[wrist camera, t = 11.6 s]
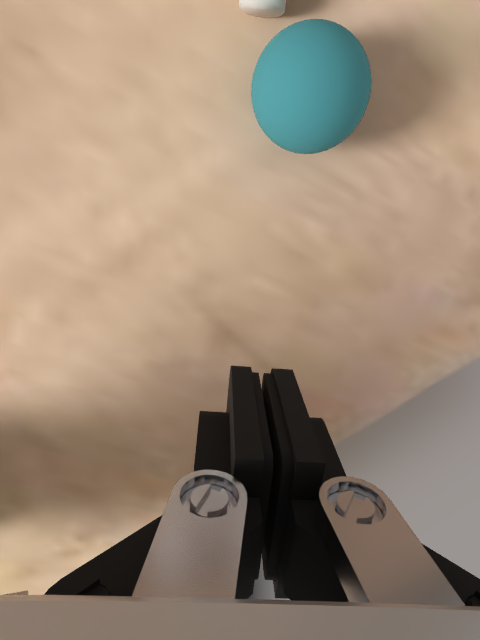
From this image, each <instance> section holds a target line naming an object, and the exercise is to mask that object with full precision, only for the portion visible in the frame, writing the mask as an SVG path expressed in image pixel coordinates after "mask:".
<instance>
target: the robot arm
mask: <svg viewBox="0 0 480 640" xmlns="http://www.w3.org/2000/svg"><path fill="white" fill-rule="evenodd" d="M261 554H262V559H263V570H264V577H265V580H273V584H274V592H275V598H289V599H290V600H258V599H247V598H248V597H250V596H251V595H252V594H253V586H254V579H258V576H259V569H260V562H261ZM0 640H480V579H479V578H477V577H475V576H474V575H472V574H471V573H469V572H467V571H465V570H464V569H462V568H461V567H459V566H457V565H456V564H454V563H453V562H451V561H449V560H448V559H446V558H444V557H443V556H441V555H440V554H438V553H436V552H435V551H433V550H431V549H430V548H428V547H427V546H425V545H423V544H422V543H421V542H420V541H419V539H418V538H417V537H416V535H415V534H414V533H413V531H412V530H411V528H410V527H409V525H408V524H407V522H406V521H405V520H404V518H403V517H402V516H401V514H400V513H399V511H398V510H397V508H396V507H395V506H394V504H393V503H392V501H391V500H390V499H389V498H388V497H387V495H386V494H385V493H384V492H383V491H382V490H380V489H378V488H377V487H376V486H375V485H373V484H371V483H369V482H366V481H364V480H362V479H358V478H354V477H347V476H346V474H345V472H344V469H343V467H342V464H341V462H340V459H339V457H338V455H337V452H336V450H335V447H334V445H333V442H332V440H331V437H330V435H329V433H328V430H327V428H326V425H325V423H324V421H323V419H321V418H310V417H309V415H308V412H307V409H306V406H305V404H304V401H303V398H302V395H301V392H300V390H299V387H298V384H297V381H296V378H295V376H294V373H293V370H288V369H272V370H271V374H269V373H264V375H263V382H262V390H261V384H260V379H259V373H254V372H252V370H251V367H243V366H231V369H230V378H229V389H228V400H227V411H226V413H225V412H208V411H200V414H199V424H198V434H197V444H196V454H195V464H194V472H192V473H189V474H187V475H185V476H183V477H182V478H181V479H180V480H178V481H177V483H176V484H175V486H174V487H173V489H172V492H171V494H170V497H169V500H168V502H167V505H166V507H165V510H164V513H163V515H162V516H160V517H159V518H157V519H155V520H154V521H152V522H151V523H149V524H147V525H146V526H144V527H143V528H141V529H140V530H138V531H136V532H135V533H133V534H132V535H130V536H128V537H127V538H125V539H124V540H122V541H120V542H119V543H117V544H116V545H114V546H113V547H111V548H109V549H108V550H106V551H105V552H103V553H101V554H100V555H98V556H97V557H95V558H93V559H92V560H90V561H89V562H87V563H86V564H84V565H82V566H81V567H79V568H78V569H76V570H74V571H73V572H71V573H70V574H68V575H66V576H65V577H63V578H62V579H60V580H59V581H58V582H57V583H55V584H54V585H53V586H52V587H50V588H49V589H48V591H47V592H46V593H45V594H44V595H28V591H22V592H17V593H11V594H5V595H0Z"/></svg>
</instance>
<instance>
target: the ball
mask: <svg viewBox="0 0 480 640" xmlns="http://www.w3.org/2000/svg"><path fill="white" fill-rule="evenodd" d="M370 91H371V71H370V65H369V61H368V58H367V55H366V53H365V51H364V49H363V47H362V45H361V44H360V42H359V41H358V39H357V38H356V37H355V36H354V35H353V34H352V33H351V32H350V31H348V30H347V29H346V28H344V27H343V26H341V25H339V24H337V23H334V22H332V21H328V20H323V19H310V20H304V21H300V22H297V23H295V24H292V25H290V26H288V27H287V28H285V29H284V30H282V31H281V32H279V33H278V34H277V35H276V36H275V37H274V38H273V39H272V40H271V41H270V42H269V43H268V45H267V46H266V47H265V49H264V50H263V52H262V54H261V56H260V57H259V60H258V62H257V65H256V67H255V71H254V74H253V80H252V91H251V95H252V104H253V109H254V113H255V116H256V119H257V121H258V123H259V125H260V127H261V128H262V130H263V131H264V133H265V134H266V135H267V136H268V137H269V138H270V139H271V140H272V141H273V142H274V143H275V144H277V145H278V146H280V147H282V148H283V149H286V150H288V151H291V152H294V153H301V154H313V153H319V152H322V151H325V150H328V149H330V148H332V147H334V146H336V145H337V144H339V143H341V142H342V141H343V140H344V139H346V138H347V137H348V136H349V135H350V134H351V133H352V132H353V130H354V129H355V128H356V126H357V125H358V124H359V122H360V120H361V118H362V117H363V115H364V112H365V110H366V107H367V104H368V101H369V97H370Z"/></svg>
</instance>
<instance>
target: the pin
mask: <svg viewBox="0 0 480 640" xmlns="http://www.w3.org/2000/svg"><path fill="white" fill-rule="evenodd" d="M285 7H286V0H239V8H240V9H241V10H242V11H243V12H245V13H247V14H249V15H252V16H256V17H263V18H275V17H279V16H282V15H283V14H284V13H285Z"/></svg>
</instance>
